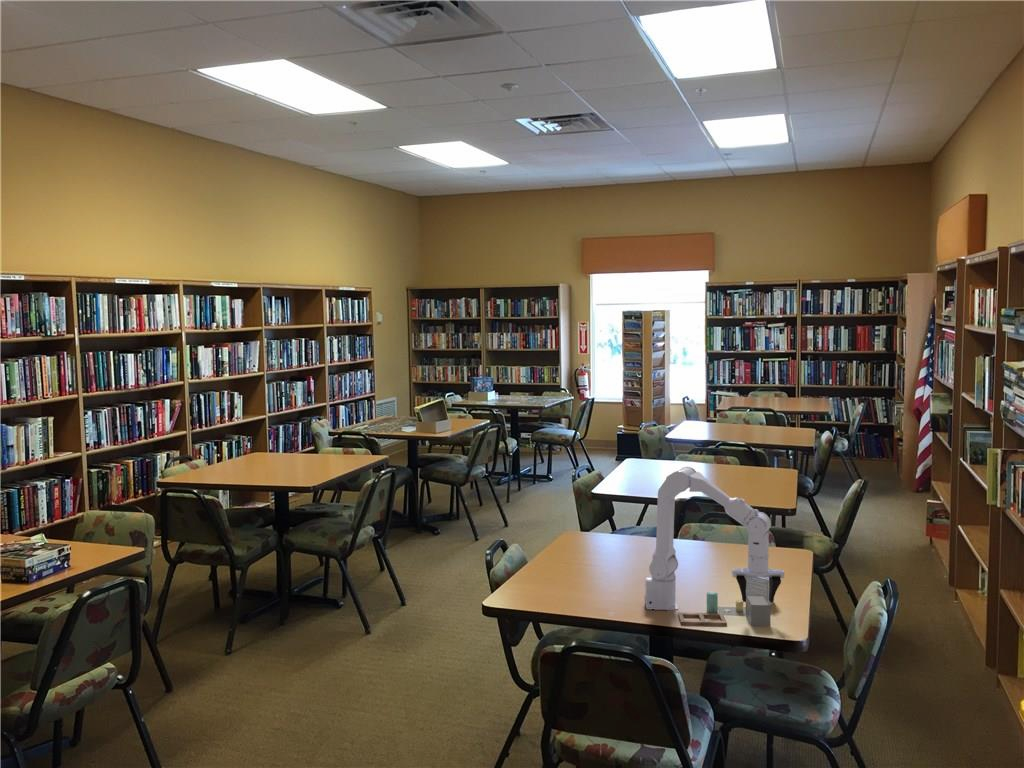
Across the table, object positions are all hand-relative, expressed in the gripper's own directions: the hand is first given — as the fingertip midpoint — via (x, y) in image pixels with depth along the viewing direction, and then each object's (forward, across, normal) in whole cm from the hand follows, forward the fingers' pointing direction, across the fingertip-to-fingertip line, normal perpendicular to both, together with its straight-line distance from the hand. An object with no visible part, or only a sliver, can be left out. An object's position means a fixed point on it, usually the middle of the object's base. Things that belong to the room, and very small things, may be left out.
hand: (757, 601), depth 233 cm
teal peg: (+6, -12, +7) cm, 15 cm away
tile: (+6, -5, +8) cm, 11 cm away
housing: (+6, 0, 0) cm, 6 cm away
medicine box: (+6, +4, +17) cm, 19 cm away
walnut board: (+6, -16, -1) cm, 17 cm away
